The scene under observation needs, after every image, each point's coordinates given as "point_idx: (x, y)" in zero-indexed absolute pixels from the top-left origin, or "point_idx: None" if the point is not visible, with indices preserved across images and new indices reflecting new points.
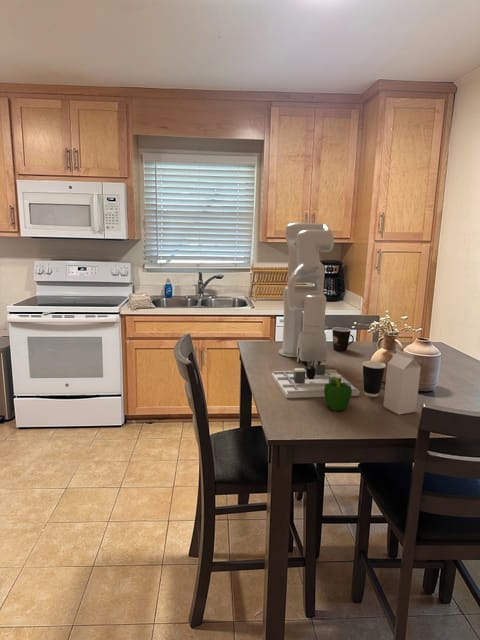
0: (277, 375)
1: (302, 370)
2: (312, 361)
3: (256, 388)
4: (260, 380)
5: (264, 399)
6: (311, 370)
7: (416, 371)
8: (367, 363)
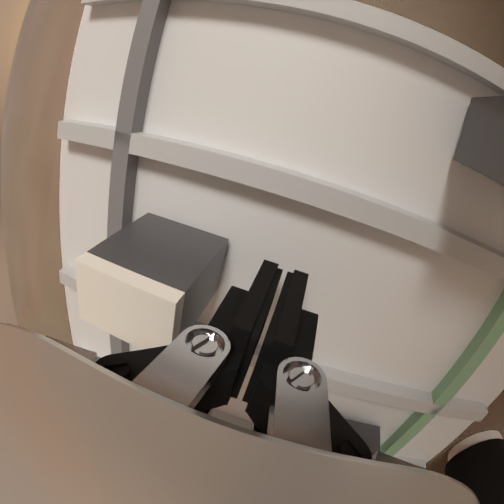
0: (98, 43)
1: (139, 347)
2: (271, 423)
3: (2, 181)
4: (35, 62)
5: (22, 302)
6: (231, 393)
7: None
8: None
